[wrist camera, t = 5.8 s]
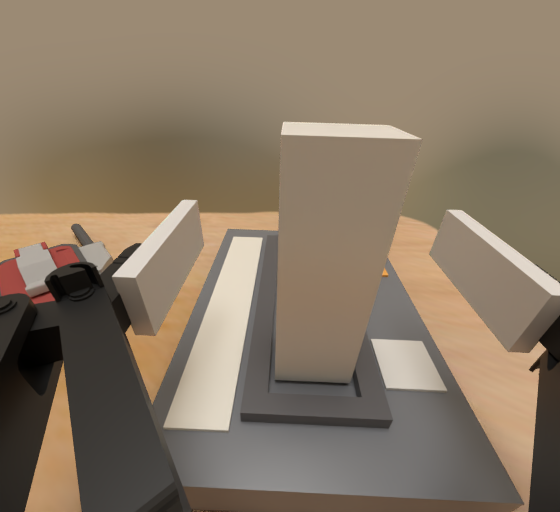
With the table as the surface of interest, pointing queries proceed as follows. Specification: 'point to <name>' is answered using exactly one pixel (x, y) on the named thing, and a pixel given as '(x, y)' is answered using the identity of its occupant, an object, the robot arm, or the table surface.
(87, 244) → the walkie-talkie
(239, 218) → the table surface
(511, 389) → the table surface
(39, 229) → the table surface
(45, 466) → the table surface
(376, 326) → the switch box
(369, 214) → the lever
